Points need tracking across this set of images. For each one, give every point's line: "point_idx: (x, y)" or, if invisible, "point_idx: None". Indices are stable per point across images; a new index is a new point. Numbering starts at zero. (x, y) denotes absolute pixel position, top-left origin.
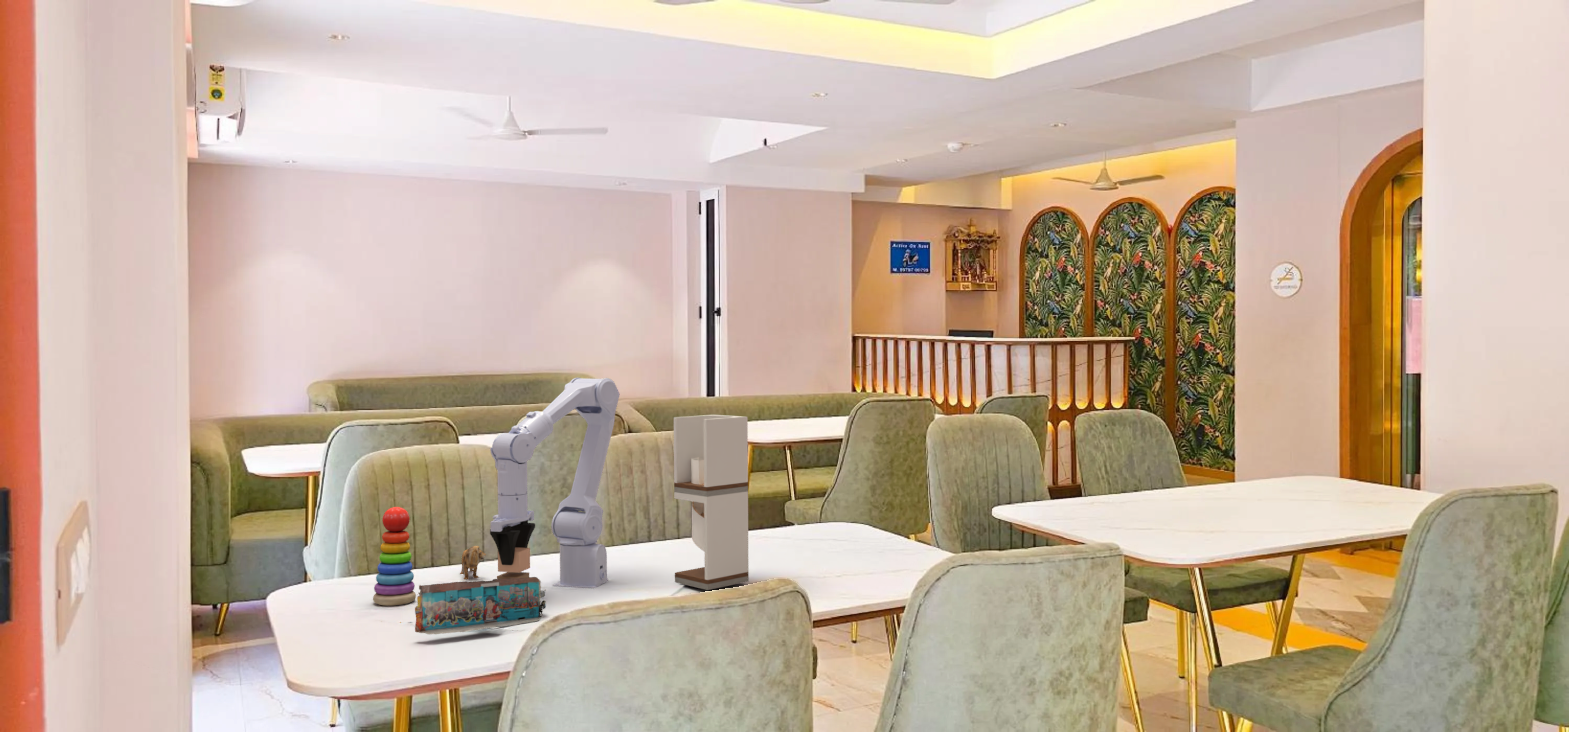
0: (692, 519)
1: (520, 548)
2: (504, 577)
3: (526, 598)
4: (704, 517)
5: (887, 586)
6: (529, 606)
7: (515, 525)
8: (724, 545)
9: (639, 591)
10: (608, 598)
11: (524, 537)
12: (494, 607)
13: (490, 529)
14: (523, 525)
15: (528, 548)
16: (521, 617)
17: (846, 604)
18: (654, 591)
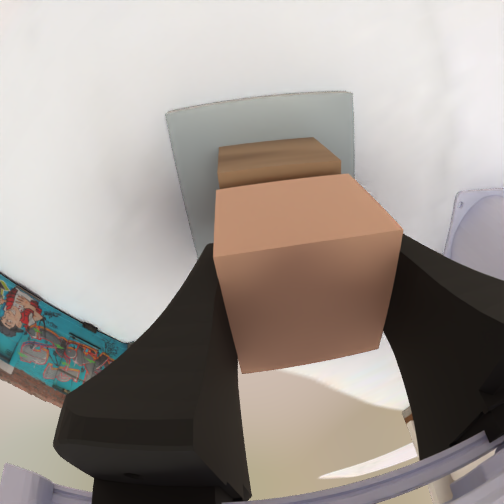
0: (480, 463)
1: (358, 322)
2: None
3: (92, 366)
4: (436, 497)
5: (401, 460)
6: (101, 355)
7: (474, 411)
8: None
9: (397, 369)
10: (337, 364)
11: (410, 376)
12: (24, 318)
13: (65, 444)
14: (444, 446)
15: (360, 352)
16: (88, 329)
17: (336, 475)
18: (396, 382)
